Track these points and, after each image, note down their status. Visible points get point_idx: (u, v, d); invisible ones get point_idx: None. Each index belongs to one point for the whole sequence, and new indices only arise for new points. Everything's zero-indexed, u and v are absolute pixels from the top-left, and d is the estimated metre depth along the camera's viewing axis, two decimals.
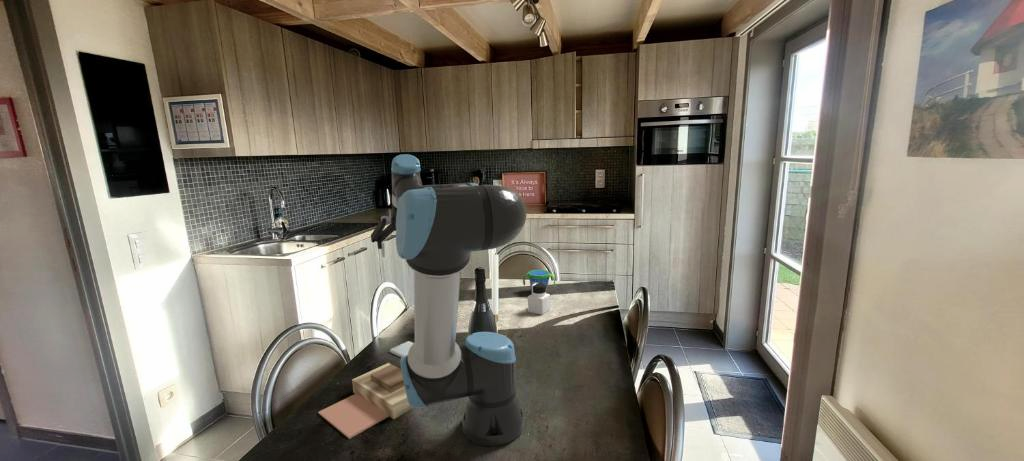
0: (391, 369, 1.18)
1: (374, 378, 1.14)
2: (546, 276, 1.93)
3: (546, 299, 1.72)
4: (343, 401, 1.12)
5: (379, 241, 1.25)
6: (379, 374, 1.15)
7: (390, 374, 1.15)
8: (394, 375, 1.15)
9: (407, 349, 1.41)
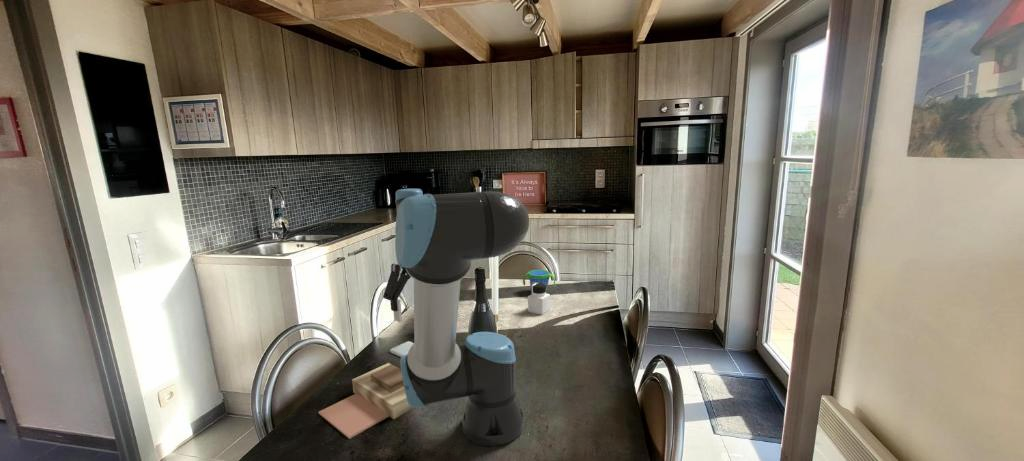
0: (391, 369, 1.18)
1: (374, 378, 1.14)
2: (546, 276, 1.93)
3: (546, 299, 1.72)
4: (343, 401, 1.12)
5: (395, 297, 1.13)
6: (379, 374, 1.15)
7: (390, 374, 1.15)
8: (394, 375, 1.15)
9: (407, 349, 1.41)
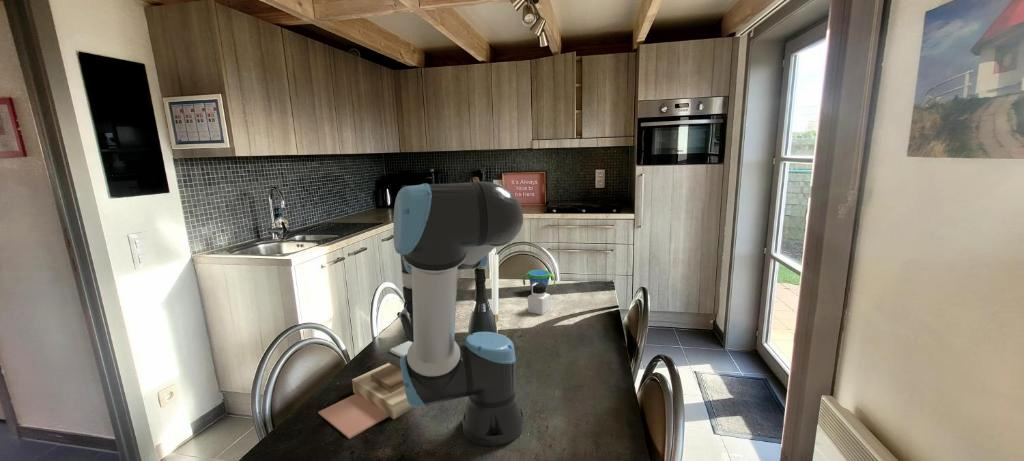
0: (391, 369, 1.18)
1: (374, 378, 1.14)
2: (546, 276, 1.93)
3: (546, 299, 1.72)
4: (343, 401, 1.12)
5: None
6: (379, 374, 1.15)
7: (390, 374, 1.15)
8: (394, 375, 1.15)
9: (407, 349, 1.41)
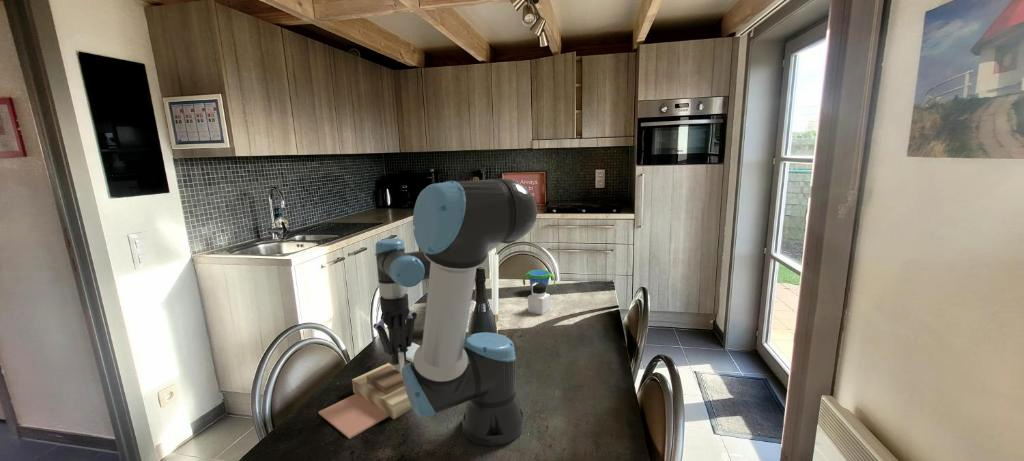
0: (387, 370, 1.17)
1: (370, 379, 1.14)
2: (546, 276, 1.93)
3: (546, 299, 1.72)
4: (343, 401, 1.12)
5: (396, 352, 1.14)
6: (375, 376, 1.15)
7: (386, 376, 1.14)
8: (390, 377, 1.14)
9: None
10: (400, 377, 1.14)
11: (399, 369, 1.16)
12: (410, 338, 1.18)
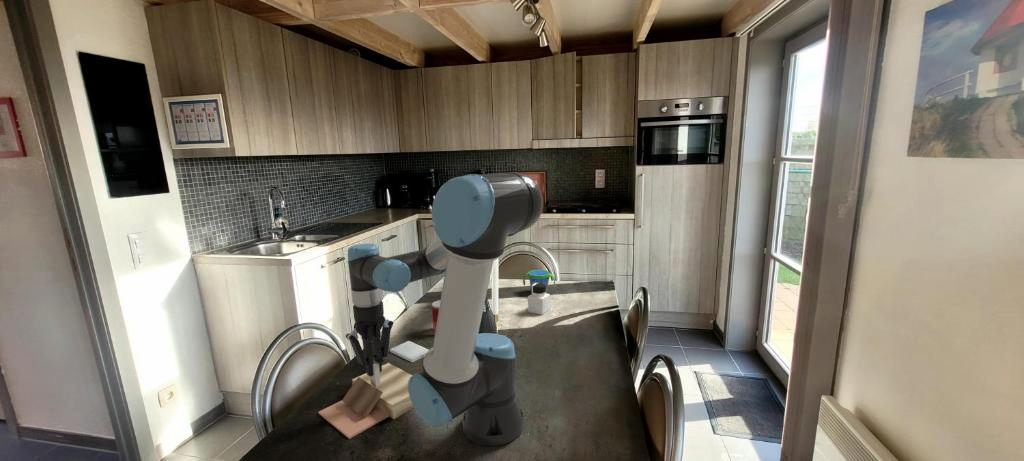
0: (359, 385, 1.11)
1: None
2: (546, 276, 1.93)
3: (546, 299, 1.72)
4: None
5: (370, 363, 1.08)
6: (349, 398, 1.10)
7: (359, 394, 1.09)
8: (362, 395, 1.08)
9: (407, 349, 1.41)
10: (371, 392, 1.07)
11: (374, 381, 1.10)
12: (386, 348, 1.12)
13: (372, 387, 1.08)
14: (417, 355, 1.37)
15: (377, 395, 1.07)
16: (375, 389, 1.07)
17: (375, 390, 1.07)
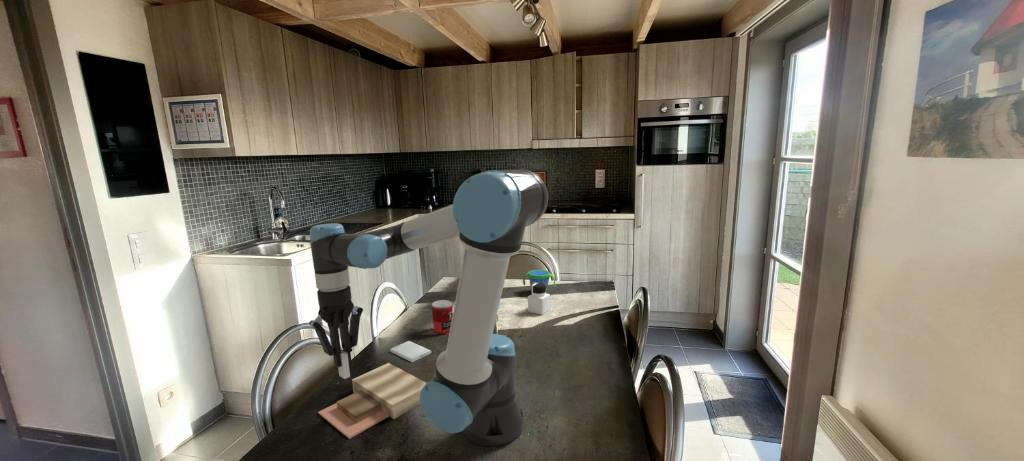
0: (359, 396, 1.11)
1: (340, 406, 1.08)
2: (546, 276, 1.93)
3: (546, 299, 1.72)
4: None
5: (338, 353, 1.01)
6: (346, 402, 1.09)
7: (357, 402, 1.09)
8: (361, 403, 1.08)
9: (407, 349, 1.41)
10: (372, 403, 1.08)
11: (342, 372, 1.02)
12: (355, 337, 1.04)
13: (374, 400, 1.09)
14: (417, 355, 1.37)
15: (376, 408, 1.07)
16: (377, 402, 1.08)
17: (377, 402, 1.08)
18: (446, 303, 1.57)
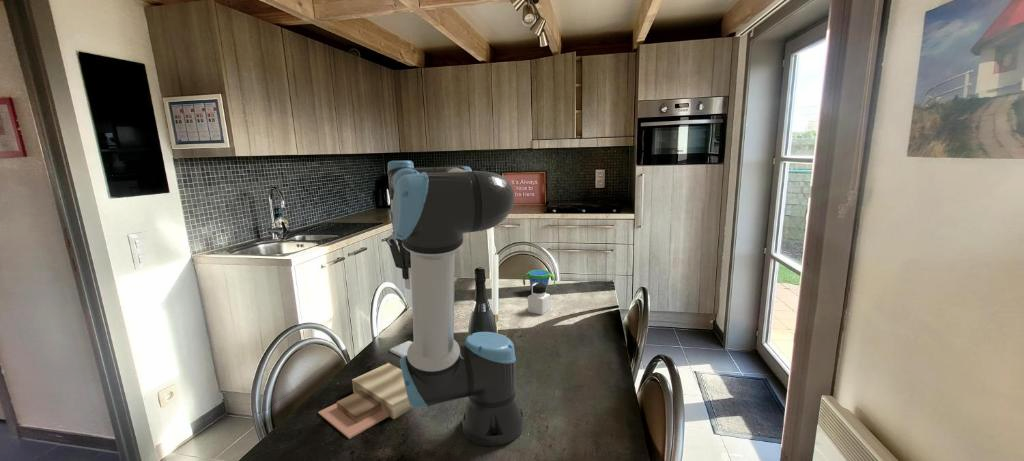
0: (359, 396, 1.11)
1: (340, 406, 1.08)
2: (546, 276, 1.93)
3: (546, 299, 1.72)
4: None
5: (406, 267, 1.23)
6: (346, 402, 1.09)
7: (357, 402, 1.09)
8: (361, 403, 1.08)
9: (407, 349, 1.41)
10: (372, 403, 1.08)
11: (409, 284, 1.25)
12: None
13: (374, 400, 1.09)
14: None
15: (376, 408, 1.07)
16: (377, 402, 1.08)
17: (377, 402, 1.08)
18: None
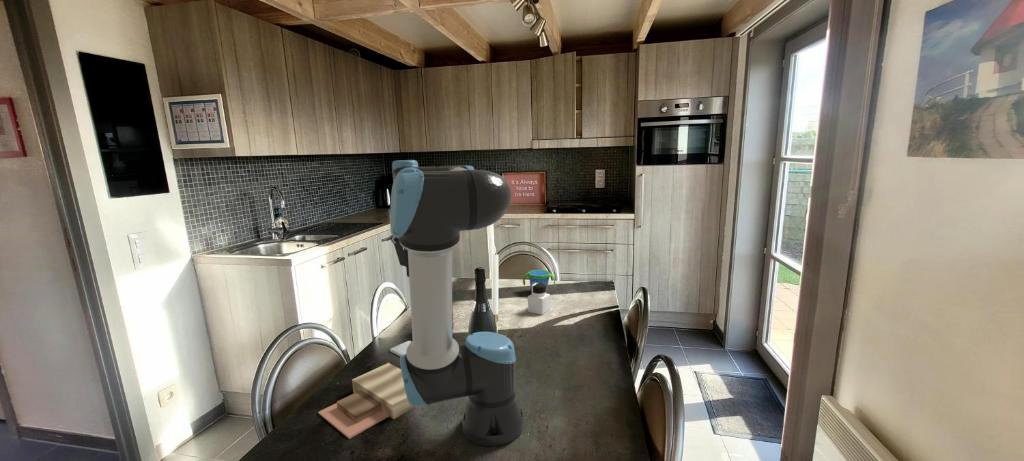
0: (359, 396, 1.11)
1: (340, 406, 1.08)
2: (546, 276, 1.93)
3: (546, 299, 1.72)
4: None
5: None
6: (346, 402, 1.09)
7: (357, 402, 1.09)
8: (361, 403, 1.08)
9: None
10: (372, 403, 1.08)
11: None
12: None
13: (374, 400, 1.09)
14: None
15: (376, 408, 1.07)
16: (377, 402, 1.08)
17: (377, 402, 1.08)
18: None
